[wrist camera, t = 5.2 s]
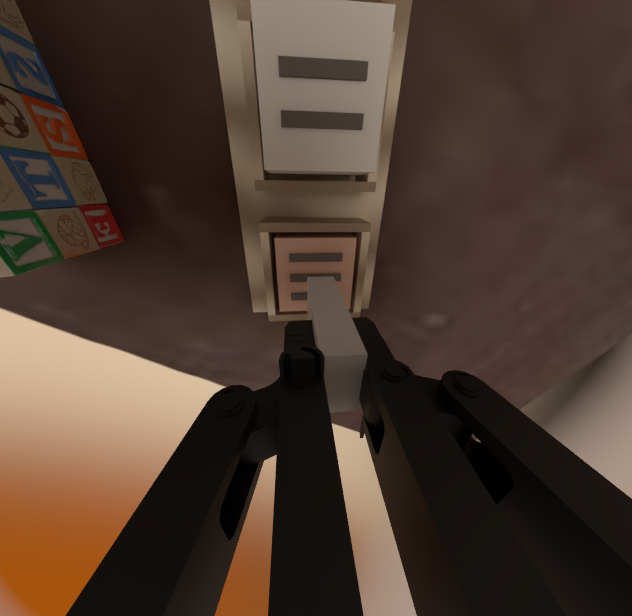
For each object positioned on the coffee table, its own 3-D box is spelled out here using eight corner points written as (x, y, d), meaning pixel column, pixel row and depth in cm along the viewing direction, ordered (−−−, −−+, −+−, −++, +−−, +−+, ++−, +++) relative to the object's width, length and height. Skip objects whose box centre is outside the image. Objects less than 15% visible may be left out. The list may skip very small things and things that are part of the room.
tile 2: (261, 42, 12) (248, -12, 9) (370, 49, 12) (397, 1, 9) (270, 173, 15) (264, 169, 11) (359, 175, 15) (376, 171, 12)
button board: (173, -309, 10) (73, -726, 5) (437, -259, 11) (539, -575, 6) (255, 305, 24) (246, 331, 19) (364, 302, 25) (379, 326, 20)
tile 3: (277, 230, 19) (274, 239, 16) (346, 229, 19) (357, 238, 16) (281, 294, 22) (279, 312, 18) (342, 292, 22) (350, 310, 19)
